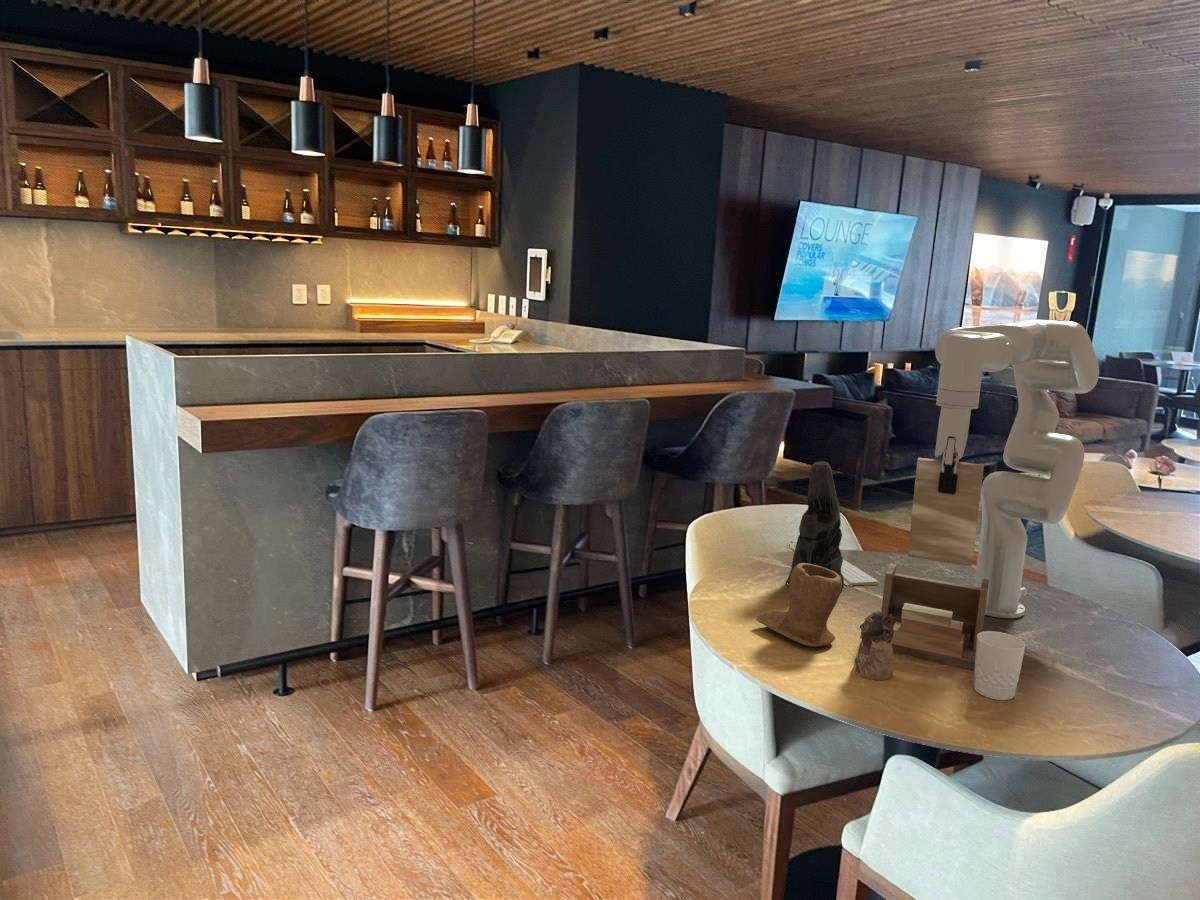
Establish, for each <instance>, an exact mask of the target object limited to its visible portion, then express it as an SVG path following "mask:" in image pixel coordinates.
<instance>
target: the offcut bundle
mask: <svg viewBox="0 0 1200 900" xmlns="http://www.w3.org/2000/svg"><path fill="white" fill-rule="evenodd" d="M952 614H953V612H952V611H947V610H941V609H936V608H930V607H925V606H919V605H914V604H908V603H904V606H903V608H902V616H901V618H902V620H901V622H897V621H896V622H895V624H894V626H893V629H894V635H893V638H892V640H891V644H893V645H898V646H903V647H908V648H913V649H918V650H923V651H927V652H932V653H937V654H942V655H947V656H952V657H957V658H961V656H962V651H963V644H964V636H965V635H964V634H962V629H963V622H959V621H954V620H952Z"/></svg>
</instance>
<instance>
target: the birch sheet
mask: <svg viewBox="0 0 1200 900" xmlns="http://www.w3.org/2000/svg"><path fill="white" fill-rule="evenodd" d="M954 463H955V462H954ZM984 467H985V464H979V463H970V462H963V461H959V462H958V464H957V473H956V474H958V477H957V486H956V493H955V494H946V493H939V492H938V486H939V477H940V472H941V468H942V459H936V458H935V459H934V458H927V457H925V458H924V457H918V458H917V461H916V471H915V480H914V481H915V482H914V488H913V489H914V491H913V500H912V509H911V517H910V519H911V520H910V529H909V530H910V531H909V538H908V549H907V557H910V558H916V559H920V560H921V559H922V560H929V561H934V562H940V563H948V564H953V565H954V564H955V565H961V566H967V567H972V566H973V561H974V555H975V554H974V553H975V544H976V538H977V536H976V535H977V528H978V527H977V526H978V519H979V512H980V511H979V510H980V501H981V490H982V484H983V478H984V477H983V476H984Z"/></svg>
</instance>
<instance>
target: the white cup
mask: <svg viewBox="0 0 1200 900" xmlns="http://www.w3.org/2000/svg"><path fill="white" fill-rule="evenodd" d="M1025 651H1026V642H1025V641H1024V640H1023V639H1021V638H1020V637H1018V636H1016V635H1013V634H1009V633H1005V632H1001V631H994V630H986V631H982V632H980V633H979V634H978V635H977V644H976V656H975V670H974V680H973V683H974V684H973V687H974V690H975V692H977V693H978V694H980V695H981V696H984V697H986V698H988V699H992V700H996V701H1007V700H1012V699H1013V698H1014V697H1015V696H1016V691H1017V686H1018V683H1019V679H1020V673H1021V670H1022V666H1023V665H1022V664H1023V659H1024V654H1025Z"/></svg>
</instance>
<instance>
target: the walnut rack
mask: <svg viewBox="0 0 1200 900" xmlns="http://www.w3.org/2000/svg"><path fill="white" fill-rule="evenodd" d="M884 573H885V574H884V584H883V585H884V586H883V593H882V603H881V611H880V612H882V614H883V617H884V618H885V617H886V616H888V615H890V614H892V615H893V616H894V619H893V620H892V621H890V623H891V625H892V626H894V624H895V622H896V621H897V622H901V620H902V618H901V616H902V608H903V606H904V603H908V604H914V605H919V606H925V607H930V608H936V609H941V610H947V611H952V612H953V614H952V620H954V621H959V622H963V629H962V634H964V635H965V636H964V644H963V651H962V656H961V658H957V657H952V656H947V655H942V654H937V653H932V652H927V651H923V650H918V649H913V648H908V647H903V646H898V645H893V644H892V649H893V654H897V655H902V656H905V657H906V656H907V657H911V658H916V659H922V660H924V661H925V660H926V661H931V662H935V663H940V664H945V665H948V666H949V665H950V666H955V667H960V668H965V669H969V670H974V671H975V656H976V644H977V635H978V634H979V633H980V632H984V631H983V630H984V622H985V616H986V615H985V608H986V600H987V592H988V585H989V580H988V579H982V585H981V588H979V587H974V585H966V584H960V583H954V582H950V581H949V582H948V581H943V580H937V579H932V578H925V577H920V576H919V577H918V576H915V575H914V576H913V575H908V574H901V573H897V563H889V565H888V568H887V570H886V571H885V572H884ZM883 632H884V633H885V634H887V635H888V636H890V632H889V631H888V630H884V631H883Z"/></svg>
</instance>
